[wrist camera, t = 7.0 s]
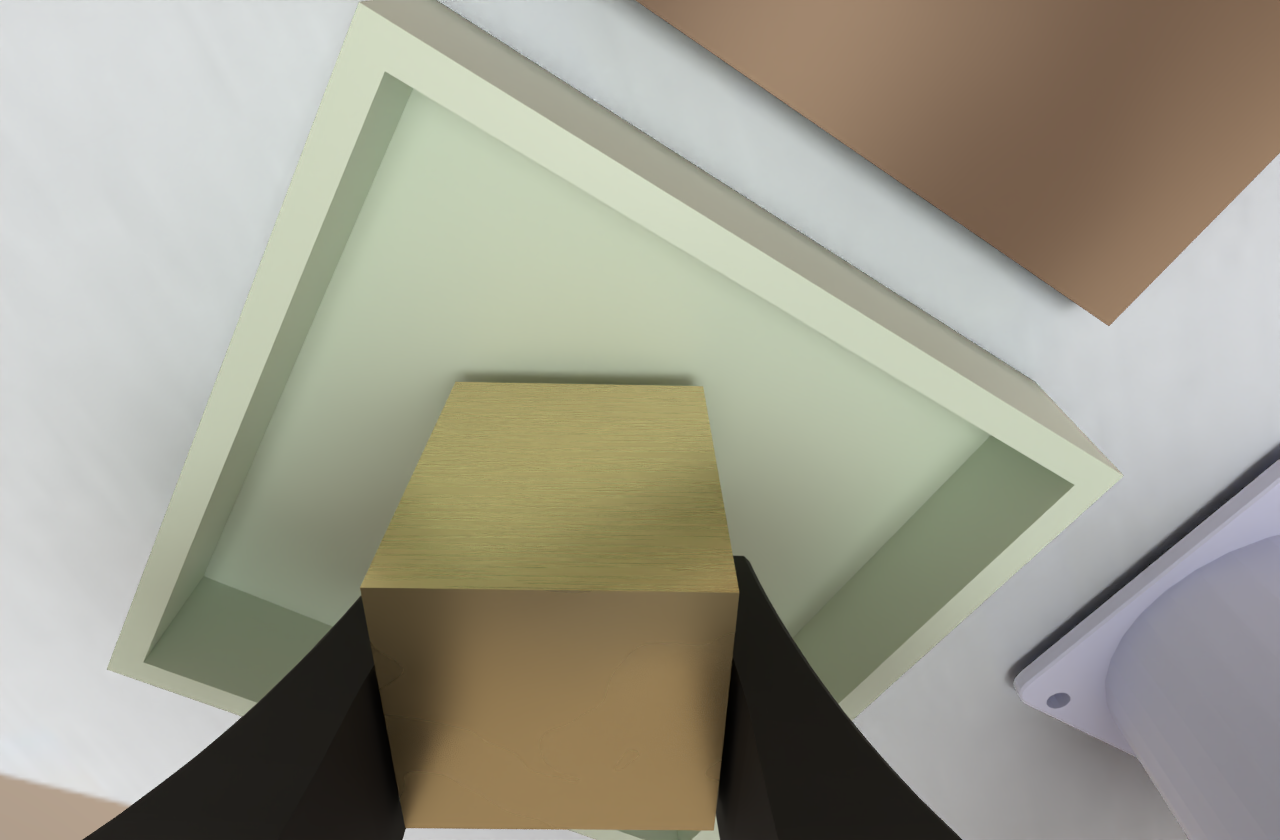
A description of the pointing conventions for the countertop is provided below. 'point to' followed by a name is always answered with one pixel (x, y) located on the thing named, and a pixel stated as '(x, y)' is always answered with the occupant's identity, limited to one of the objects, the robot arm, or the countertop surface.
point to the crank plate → (1031, 114)
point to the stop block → (558, 612)
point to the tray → (579, 377)
